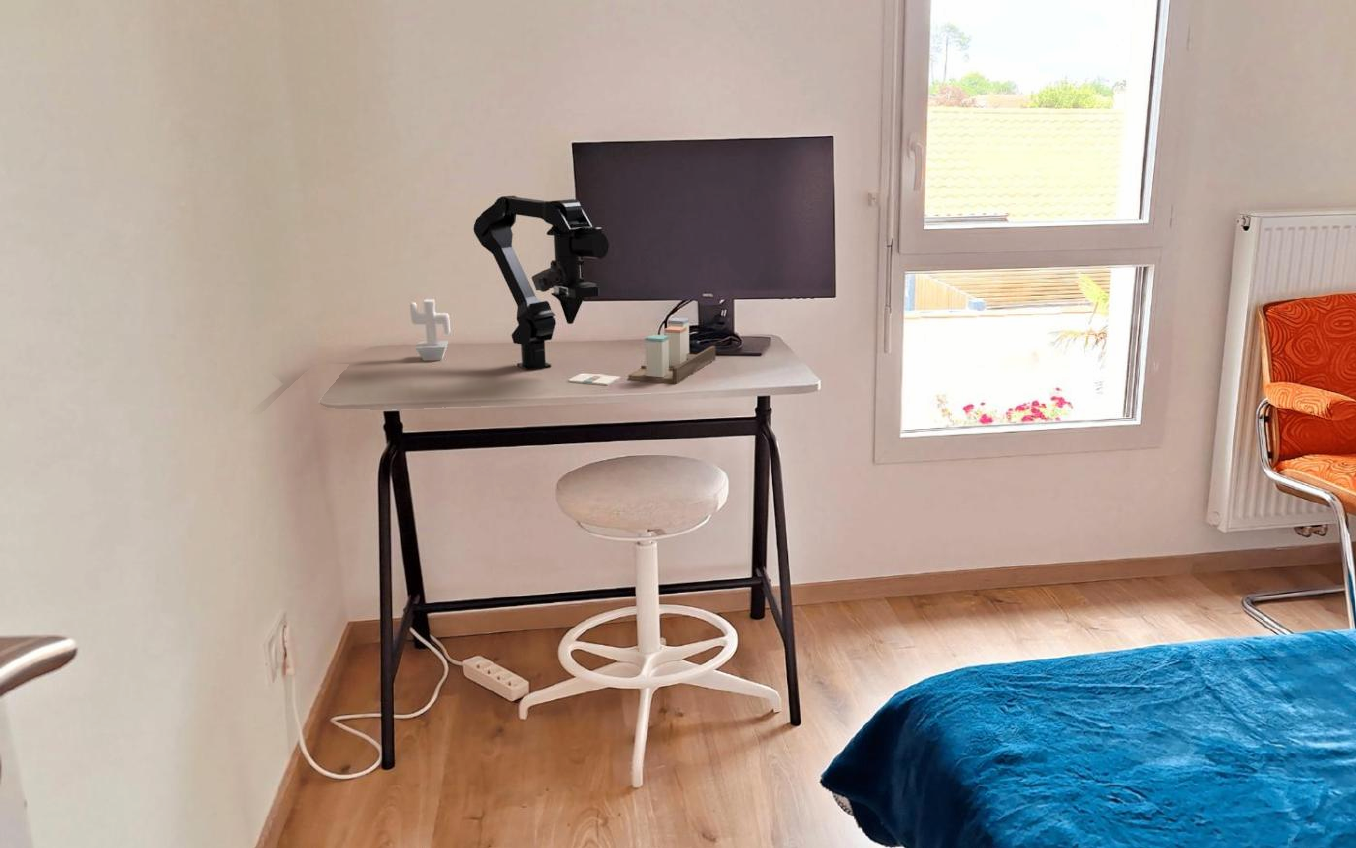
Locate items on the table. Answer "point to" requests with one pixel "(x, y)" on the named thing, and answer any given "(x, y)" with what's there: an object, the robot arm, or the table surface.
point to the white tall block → (657, 355)
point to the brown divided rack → (679, 368)
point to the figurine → (430, 330)
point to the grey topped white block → (681, 323)
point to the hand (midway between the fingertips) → (570, 323)
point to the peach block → (676, 344)
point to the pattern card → (594, 379)
